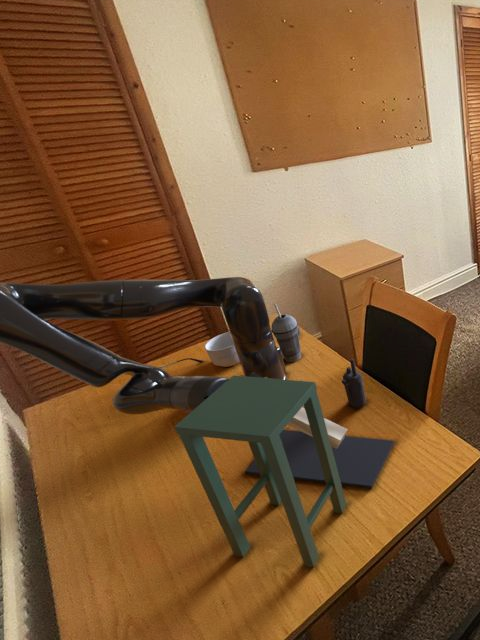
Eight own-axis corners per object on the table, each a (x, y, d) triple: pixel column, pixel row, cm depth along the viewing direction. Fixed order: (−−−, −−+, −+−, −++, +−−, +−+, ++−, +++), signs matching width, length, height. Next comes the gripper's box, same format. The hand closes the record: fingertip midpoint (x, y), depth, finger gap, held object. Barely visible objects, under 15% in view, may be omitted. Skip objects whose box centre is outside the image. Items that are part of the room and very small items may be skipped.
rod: (250, 391, 88) (252, 382, 87) (344, 437, 89) (347, 429, 87) (239, 401, 85) (241, 392, 84) (336, 449, 86) (340, 440, 85)
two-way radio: (369, 402, 110) (360, 358, 104) (356, 413, 106) (346, 367, 100) (355, 395, 112) (345, 351, 106) (342, 406, 109) (331, 361, 103)
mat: (280, 431, 101) (279, 429, 101) (394, 443, 97) (393, 440, 97) (245, 473, 90) (244, 471, 90) (372, 488, 86) (371, 486, 86)
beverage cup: (295, 366, 125) (279, 310, 117) (275, 363, 126) (258, 308, 118) (310, 352, 131) (297, 298, 123) (291, 349, 133) (276, 296, 125)
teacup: (222, 376, 121) (214, 354, 118) (205, 364, 126) (197, 342, 123) (268, 351, 132) (262, 331, 129) (251, 341, 137) (244, 321, 134)
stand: (276, 495, 85) (233, 375, 73) (347, 504, 83) (315, 382, 71) (233, 556, 74) (173, 426, 62) (314, 568, 72) (269, 436, 60)
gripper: (165, 403, 81) (238, 409, 78) (222, 360, 94) (287, 363, 91) (180, 431, 84) (251, 438, 81) (233, 385, 97) (297, 389, 93)
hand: (270, 398), depth 86 cm, fingers closed on rod, 3 cm apart
